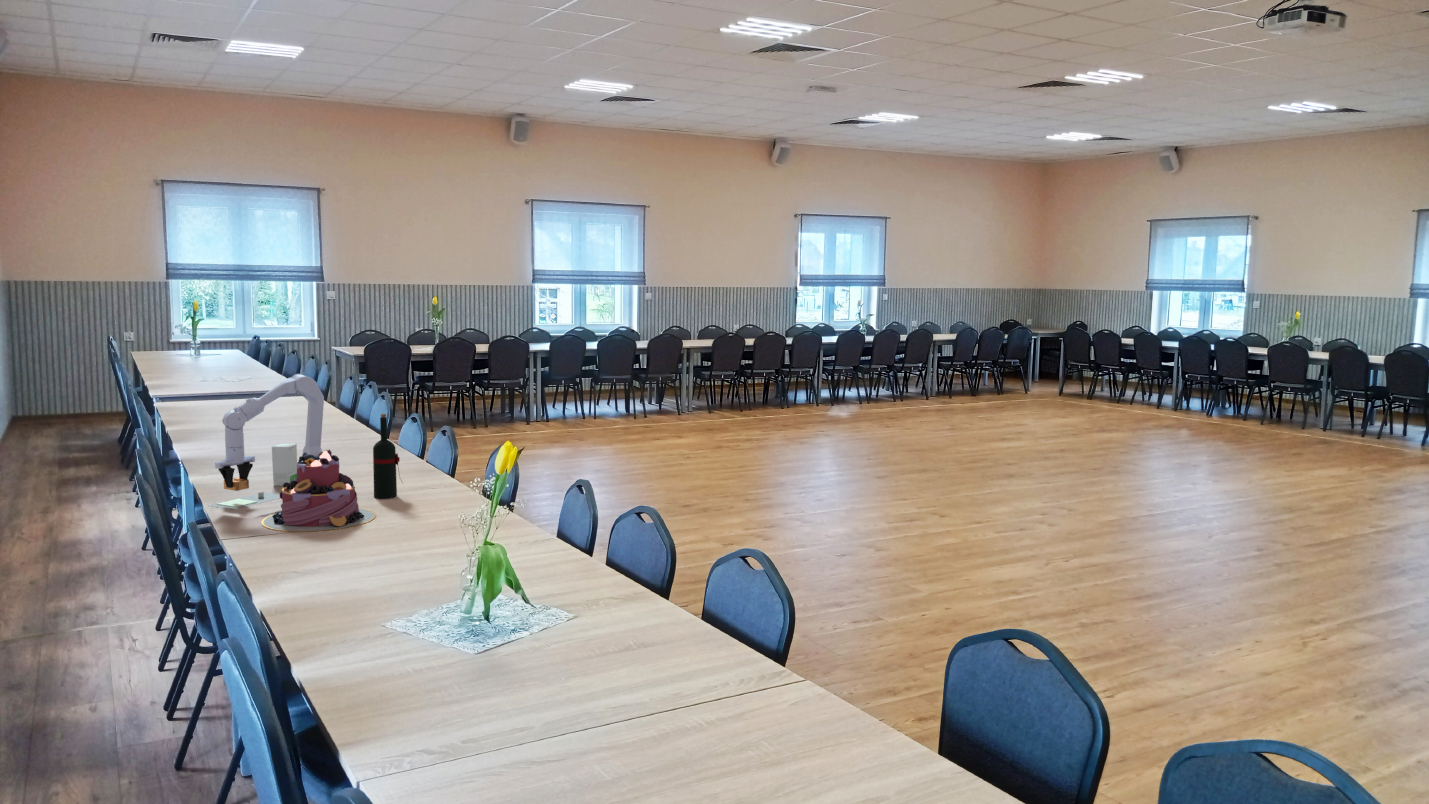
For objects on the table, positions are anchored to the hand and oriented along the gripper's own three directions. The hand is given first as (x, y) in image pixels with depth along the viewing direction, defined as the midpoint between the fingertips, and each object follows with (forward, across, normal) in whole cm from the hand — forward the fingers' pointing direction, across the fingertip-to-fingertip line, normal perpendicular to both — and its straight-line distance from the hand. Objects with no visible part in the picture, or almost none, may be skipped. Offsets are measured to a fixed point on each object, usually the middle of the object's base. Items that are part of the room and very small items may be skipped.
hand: (236, 486), depth 350 cm
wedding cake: (+8, 0, +38) cm, 38 cm away
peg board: (+7, -5, 0) cm, 9 cm away
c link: (+1, 0, 0) cm, 1 cm away
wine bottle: (+7, -36, +34) cm, 50 cm away
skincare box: (+7, -32, -12) cm, 35 cm away
